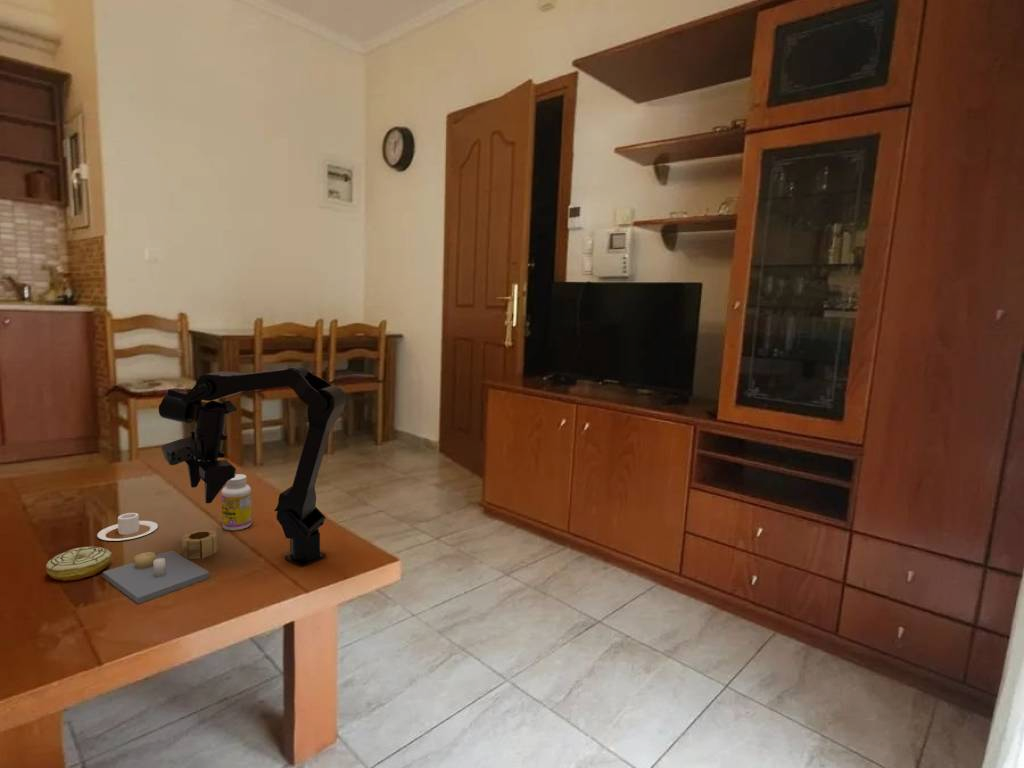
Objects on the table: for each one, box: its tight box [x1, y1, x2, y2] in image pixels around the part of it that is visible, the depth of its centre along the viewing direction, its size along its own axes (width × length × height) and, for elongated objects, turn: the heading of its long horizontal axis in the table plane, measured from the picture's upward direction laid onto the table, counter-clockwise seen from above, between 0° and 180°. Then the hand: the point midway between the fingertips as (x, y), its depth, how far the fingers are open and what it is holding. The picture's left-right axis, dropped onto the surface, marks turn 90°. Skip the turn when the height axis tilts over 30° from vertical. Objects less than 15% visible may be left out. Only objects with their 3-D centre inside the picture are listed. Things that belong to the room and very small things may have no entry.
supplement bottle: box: [221, 473, 253, 531], centre depth 138 cm, size 7×7×13 cm
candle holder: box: [96, 512, 159, 542], centre depth 133 cm, size 12×12×4 cm
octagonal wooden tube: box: [181, 529, 218, 560], centre depth 123 cm, size 6×6×4 cm
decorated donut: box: [45, 546, 113, 582], centre depth 114 cm, size 10×11×4 cm
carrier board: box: [102, 550, 211, 605], centre depth 112 cm, size 16×13×4 cm
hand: (200, 494), depth 123 cm, fingers open, 9 cm apart
